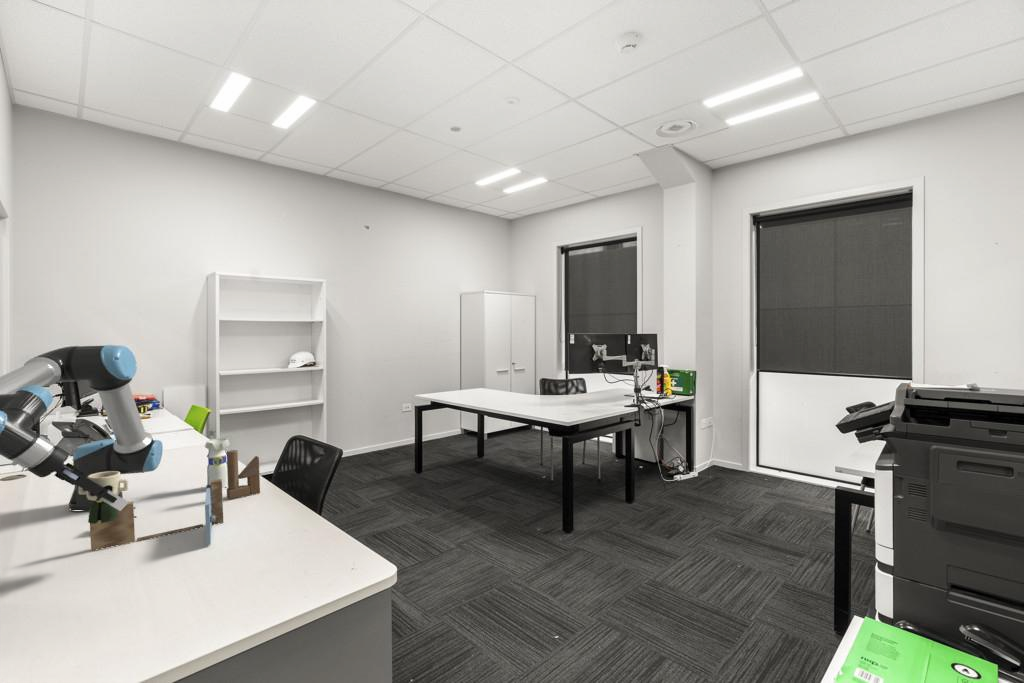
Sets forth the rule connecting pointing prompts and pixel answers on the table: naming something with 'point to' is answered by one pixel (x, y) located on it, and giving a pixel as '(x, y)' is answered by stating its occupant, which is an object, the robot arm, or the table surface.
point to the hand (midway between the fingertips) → (119, 503)
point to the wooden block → (242, 476)
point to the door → (208, 516)
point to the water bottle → (217, 459)
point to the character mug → (101, 508)
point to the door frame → (124, 523)
